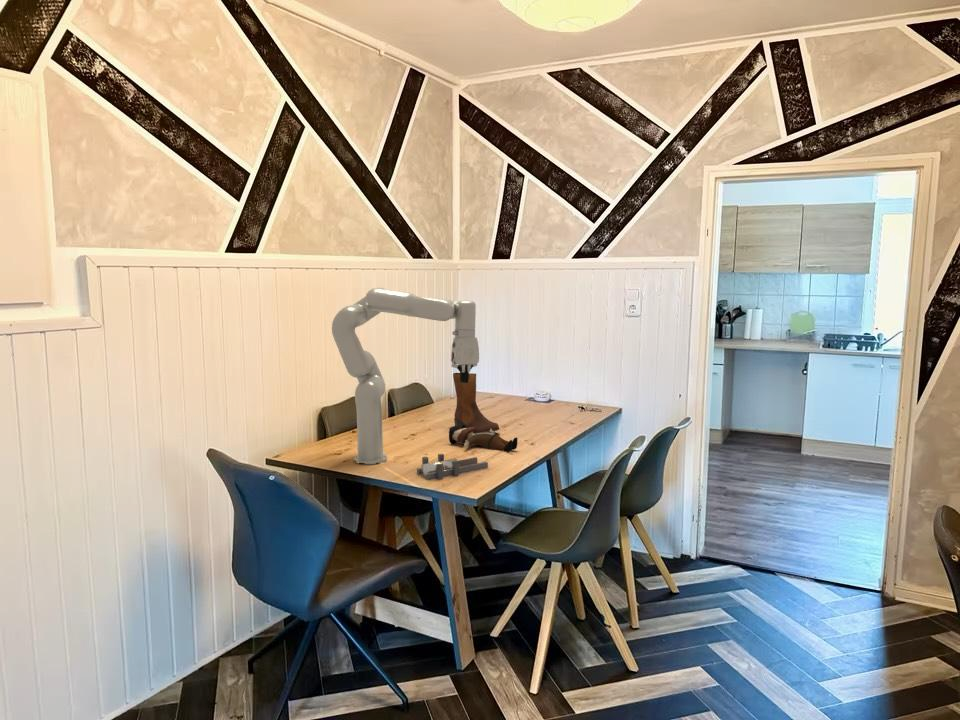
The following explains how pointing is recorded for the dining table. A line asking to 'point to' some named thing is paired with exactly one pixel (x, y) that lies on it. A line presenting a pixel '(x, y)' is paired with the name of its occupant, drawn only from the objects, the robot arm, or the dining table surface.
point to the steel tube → (432, 466)
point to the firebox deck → (453, 468)
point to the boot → (470, 406)
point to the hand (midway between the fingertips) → (464, 382)
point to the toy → (480, 439)
